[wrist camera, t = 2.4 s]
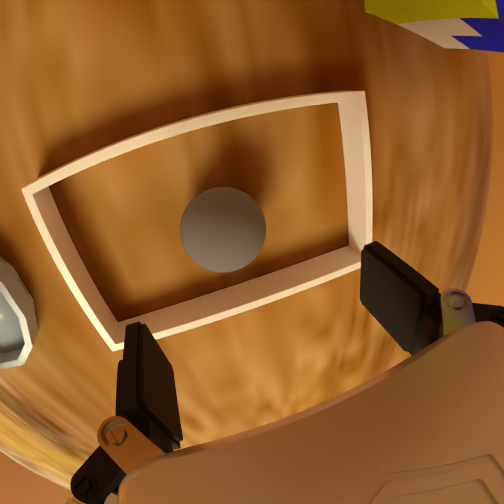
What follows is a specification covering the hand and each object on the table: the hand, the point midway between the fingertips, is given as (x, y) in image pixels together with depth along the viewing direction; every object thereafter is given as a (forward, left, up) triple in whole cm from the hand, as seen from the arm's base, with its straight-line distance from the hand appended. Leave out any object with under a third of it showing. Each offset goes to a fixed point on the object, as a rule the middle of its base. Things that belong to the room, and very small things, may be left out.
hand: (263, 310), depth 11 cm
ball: (-1, 0, -9) cm, 9 cm away
